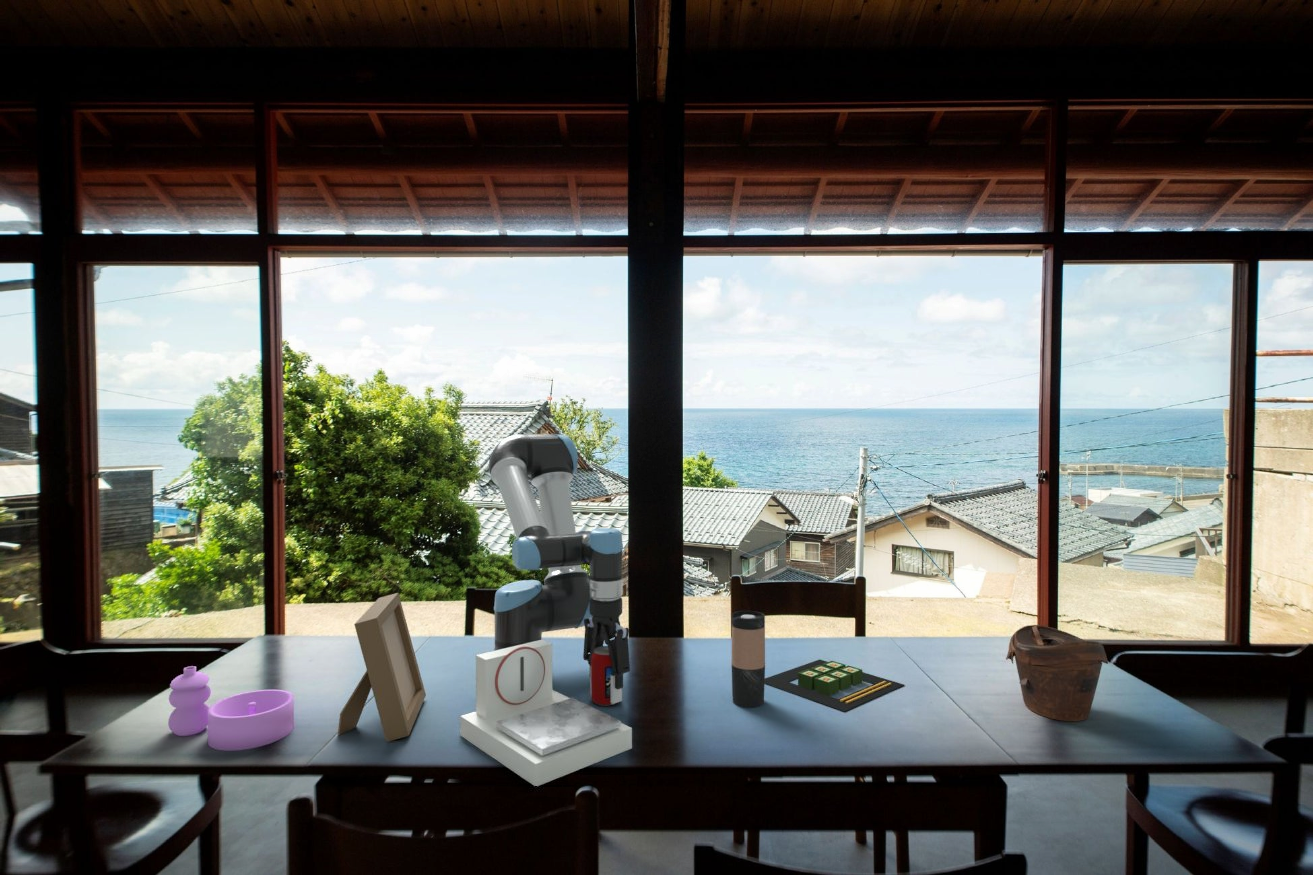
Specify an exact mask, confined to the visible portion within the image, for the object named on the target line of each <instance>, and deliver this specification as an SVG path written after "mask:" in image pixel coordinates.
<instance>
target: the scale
mask: <svg viewBox="0 0 1313 875" xmlns="http://www.w3.org/2000/svg"><path fill="white" fill-rule="evenodd" d="M570 698H571V697H568V696H566V695H564V694H562V693H560V692H559V691H556V690H554V689H553V643H551V642H549V641H547V640H544V639H541V640H538V641H534V642H530V643H525V644H521V645H517V646H513V647H508V648H504V649H500V650H496V651H494V650H492V651H488V652H484V653H479V654H475V702H476V703H475V711H472V712H469V713H466V714H462V715H460V717H459V718H460V719H459V720H460V721H459V724H460V725H459V726H460V727H459V729H460V732H459V734H460V737H462V738H463V739H465V740H466V741H468V742H469V743H471V744H472V745H473V746H475V747H477V748H478V749H479V750H480V751H482V752H484V753H485V754H486V755H489V756H490V757H491V758H493V759H495V761H497V762H499V763H500V764H502V765H503V766H504V767H506V768H508V769H509V770H510V771H512V772H513V773H514V774H517V775H518V776H519V777H520V778H522V779H523V780H525V781H526V782H528V783H530V784H531V785H533V786H534V787H535V786H537V787H539V786H541V785H544V784H546V783H549V782H551V781H553V780H556V779H559V778H561V777H564V776H566V775H569V774H572V773H574V772H576V771H579V770H580V769H584V768H587V767H589V766H591V765H595V764H596V763H599V762H601V761H604V760H606V759H608V758H611V757H614V756H617V755H618V754H621V753H625V752H626V751H629V750H631V749H632V748H633V728H632V727H630V726H628V725H626V724H625V723H623V722H621V727H619V728H616V729H614V730H611V731H608V732H606V733H603V734H600V735H597V736H595V737H592V738H589V739H587V740H584V741H581V742H578V743H576V744H573V745H570V746H568V747H565V748H562V749H559V750H557V751H554V752H551V753H549V754H546V755H543V756H542V755H540V754H539V753H537V752H535V751H534V750H532V749H530V748H529V747H527V746H526V745H524V744H522V743H521V742H519V741H517V740H516V739H514V738H512V737H511V736H509V735H508V734H506V733H504V732H503V731H501V730H499V729H498V728H497V727H496V722H497V721H500V720H503V719H506V718H509V717H513V716H516V715H519V714H522V713H525V712H529V711H532V710H535V709H538V708H541V707H544V706H548V705H551V704H554V703H557V702H560V701H564V700H567V699H570Z"/></svg>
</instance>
